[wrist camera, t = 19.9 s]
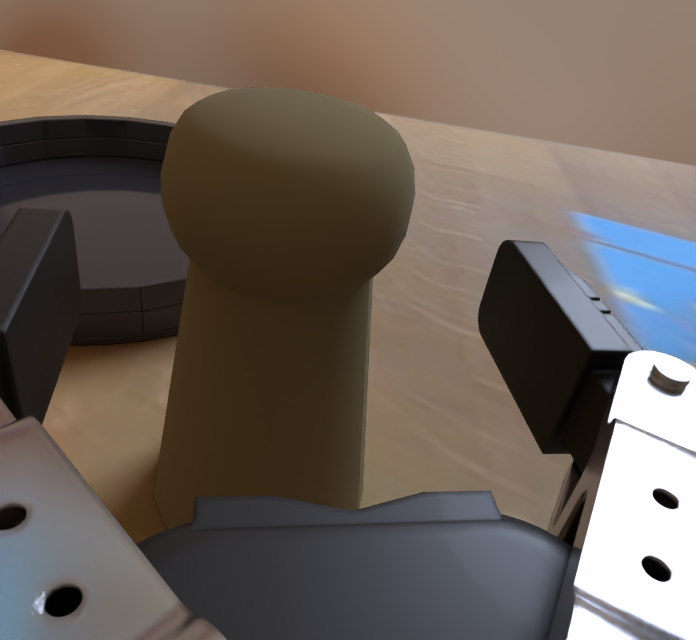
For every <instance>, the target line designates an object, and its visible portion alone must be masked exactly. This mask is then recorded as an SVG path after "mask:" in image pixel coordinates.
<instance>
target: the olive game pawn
mask: <svg viewBox="0 0 696 640" xmlns="http://www.w3.org/2000/svg"><path fill="white" fill-rule="evenodd" d="M160 176H161V198H162V204H163V208H164V211H165V214H166V217H167V220H168V224H169V227H170V230H171V231H172V233H173V235H174V237H175V239H176V241H177V243H178V245H179V247H180V248H181V249H182V250H183V252H184V253H185V254H186V255H187V256H188V258H189V266H188V272H187V279H186V285H185V292H184V299H183V305H182V312H181V318H180V325H179V331H178V338H177V344H176V351H175V357H174V364H173V371H172V377H171V384H170V390H169V397H168V403H167V410H166V416H165V423H164V429H163V436H162V442H161V449H160V456H159V462H158V469H157V476H156V484H155V492H154V496H155V500H156V503H157V506H158V510H159V513H160V517H161V520H162V523H163V524H164V525H165V526H166V528H167V529H170V528H172V527H175V526H178V525H182V524H185V523H189V522H192V521H193V507H194V497H232V496H277V497H282V498H288V499H293V500H298V501H303V502H308V503H314V504H319V505H324V506H329V507H334V508H340V509H345V510H357V509H359V506H360V501H361V495H362V489H363V469H364V448H365V428H366V407H367V387H368V366H369V346H370V325H371V305H372V284H373V277H374V276H375V275H376V274H378V273H379V272H380V271H381V270H382V269H383V268H384V267H385V266H386V265H387V264H388V263H389V262H390V261H391V260H392V259H393V258H394V256H395V254H396V252H397V251H398V249H399V247H400V245H401V243H402V241H403V239H404V238H405V236H406V232H407V228H408V224H409V219H410V215H411V211H412V207H413V202H414V196H415V176H414V166H413V163H412V161H411V158H410V155H409V152H408V149H407V147H406V144H405V142H404V141H403V139H402V137H401V136H400V134H399V132H398V131H397V130H395V129H394V128H393V127H392V126H391V125H390V124H389V123H387V122H386V121H385V120H384V119H382V118H381V117H379V116H378V115H377V114H375V113H374V112H372V111H370V110H368V109H366V108H363V107H361V106H359V105H357V104H354V103H352V102H348V101H345V100H342V99H339V98H335V97H332V96H328V95H324V94H319V93H314V92H309V91H304V90H296V89H287V88H260V87H252V88H241V89H231V90H226V91H223V92H219V93H216V94H212V95H210V96H208V97H206V98H204V99H202V100H200V101H197V102H196V103H195V104H193V105H192V106H190V107H189V108H188V109H186V110H185V111H184V112H183V114H182V115H181V117H180V118H179V120H178V121H177V123H176V124H175V126H174V128H173V129H172V131H171V132H170V136H169V140H168V144H167V148H166V152H165V157H164V161H163V165H162V169H161V173H160Z"/></svg>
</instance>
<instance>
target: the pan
mask: <svg viewBox="0 0 696 640" xmlns="http://www.w3.org/2000/svg"><path fill="white" fill-rule="evenodd" d="M174 126H175V123H170V122H163V121H155V120H147V119H140V118H132V117H118V116H95V115H70V116H44V117H32V118H24V119H16V120H9V121H1V122H0V234H3V232H4V231H5V229H6V228H7V226H8V224H9V223H10V221H11V220H12V218H13V217H14V215H15V213H16V212H17V210H18V209H19V208H20V207H35V208H50V209H65V210H69V212H70V213H71V216H72V220H73V227H74V235H75V243H76V252H77V260H78V269H79V277H80V286H81V307H80V315H79V320H78V323H77V326H76V329H75V331H74V334H73V337H72V340H71V343H70V345H96V344H116V343H125V342H135V341H144V340H149V339H155V338H160V337H165V336H171V335H176V334H178V331H179V325H180V318H181V312H182V305H183V299H184V292H185V285H186V279H187V272H188V266H189V258H188V256H187V255H186V254H185V253H184V252H183V250H182V249H181V248H180V247H179V245H178V243H177V241H176V239H175V237H174V235H173V233H172V231H171V230H170V227H169V224H168V220H167V217H166V214H165V211H164V208H163V204H162V198H161V176H160V173H161V169H162V165H163V161H164V157H165V152H166V148H167V144H168V140H169V136H170V132H171V131H172V129H173V128H174Z"/></svg>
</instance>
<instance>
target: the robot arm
mask: <svg viewBox="0 0 696 640" xmlns="http://www.w3.org/2000/svg"><path fill="white" fill-rule="evenodd" d="M80 307H81V286H80V277H79V269H78V260H77V252H76V243H75V235H74V227H73V220H72V216H71V213H70V212H69V210H65V209H50V208H35V207H20V208H19V209H18V210H17V212H16V213H15V215H14V217H13V218H12V220H11V221H10V223H9V224H8V226H7V228H6V229H5V231H4V232H3V234H0V640H696V369H695V368H693V367H692V366H690V365H689V364H687V363H685V362H683V361H681V360H679V359H677V358H675V357H673V356H670V355H667V354H664V353H660V352H655V351H645V350H643V348H642V347H641V346H640V345H639V344H638V342H637V341H636V340H635V339H634V338H633V337H632V335H631V334H630V333H629V332H628V331H627V329H626V328H625V327H624V326H623V325H622V323H621V322H620V321H619V320H618V319H617V318H616V316H615V315H614V314H611V313H610V312H611V310H610V309H609V308H608V307H607V306H606V304H605V303H604V302H603V301H600V297H599V296H598V295H597V294H596V293H595V291H594V290H593V289H592V288H591V287H590V285H589V284H588V283H587V282H586V281H584V280H583V279H581V278H580V277H579V276H577V275H576V274H574V273H573V272H571V271H570V270H568V269H567V268H565V267H564V266H563V265H562V263H561V262H560V261H559V260H558V259H557V257H556V256H555V255H554V254H553V252H552V251H551V250H550V249H549V248H548V246H547V245H546V244H545V243H543V242H532V241H517V240H505V241H504V242H503V243H502V244H501V245H500V247H499V249H498V251H497V254H496V257H495V260H494V263H493V266H492V269H491V272H490V276H489V279H488V282H487V285H486V288H485V291H484V294H483V297H482V300H481V303H480V307H479V313H478V325H479V331H480V334H481V336H482V338H483V340H484V342H485V344H486V346H487V348H488V350H489V352H490V354H491V356H492V357H493V359H494V361H495V363H496V365H497V367H498V369H499V371H500V373H501V375H502V377H503V379H504V381H505V382H506V384H507V386H508V388H509V390H510V392H511V394H512V396H513V398H514V400H515V402H516V404H517V405H518V407H519V409H520V411H521V413H522V415H523V417H524V419H525V421H526V423H527V425H528V427H529V428H530V430H531V432H532V434H533V436H534V438H535V440H536V442H537V444H538V446H539V448H540V450H541V452H542V453H543V454H571V456H572V457H573V461H572V463H571V464H570V466H569V468H568V470H567V472H566V475H565V478H564V481H563V484H562V487H561V490H560V493H559V496H558V499H557V502H556V505H555V508H554V511H553V514H552V517H551V520H550V523H549V526H548V529H547V531H545V530H543V529H542V528H540V527H537V526H535V525H532V524H530V523H528V522H525V521H522V520H519V519H516V518H513V517H510V516H506V515H501V514H500V513H499V511H498V508H497V506H496V503H495V501H494V498H493V496H492V493H491V491H455V492H422V493H418V494H414V495H411V496H407V497H403V498H399V499H396V500H392V501H388V502H385V503H381V504H377V505H373V506H370V507H366V508H362V509H357V510H345V509H340V508H334V507H329V506H324V505H319V504H314V503H308V502H303V501H298V500H293V499H288V498H282V497H277V496H232V497H194V507H193V521H192V522H189V523H185V524H182V525H178V526H175V527H172V528H170V529H167V530H164V531H162V532H159V533H157V534H155V535H153V536H151V537H149V538H147V539H145V540H143V541H141V542H139V543H137V544H135V543H134V542H133V540H132V539H131V538H130V537H129V535H128V534H127V533H126V531H125V530H124V529H123V528H122V526H121V525H120V524H119V523H118V521H117V520H116V519H115V517H114V516H113V515H112V514H111V512H110V511H109V510H108V509H107V507H106V506H105V505H104V503H103V502H102V501H101V500H100V498H99V497H98V496H97V495H96V493H95V492H94V491H93V490H92V488H91V487H90V486H89V484H88V483H87V482H86V481H85V479H84V478H83V477H82V476H81V474H80V473H79V472H78V470H77V469H76V468H75V467H74V465H73V464H72V463H71V462H70V460H69V459H68V458H67V456H66V455H65V454H64V453H63V451H62V450H61V449H60V448H59V446H58V445H57V444H56V442H55V441H54V440H53V439H52V437H51V436H50V435H49V434H48V432H47V431H46V430H45V428H44V427H43V426H42V423H43V420H44V417H45V415H46V412H47V409H48V406H49V403H50V400H51V397H52V395H53V392H54V389H55V386H56V383H57V380H58V377H59V374H60V372H61V369H62V366H63V363H64V360H65V357H66V354H67V352H68V349H69V346H70V343H71V340H72V337H73V334H74V331H75V329H76V326H77V323H78V320H79V315H80Z"/></svg>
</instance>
